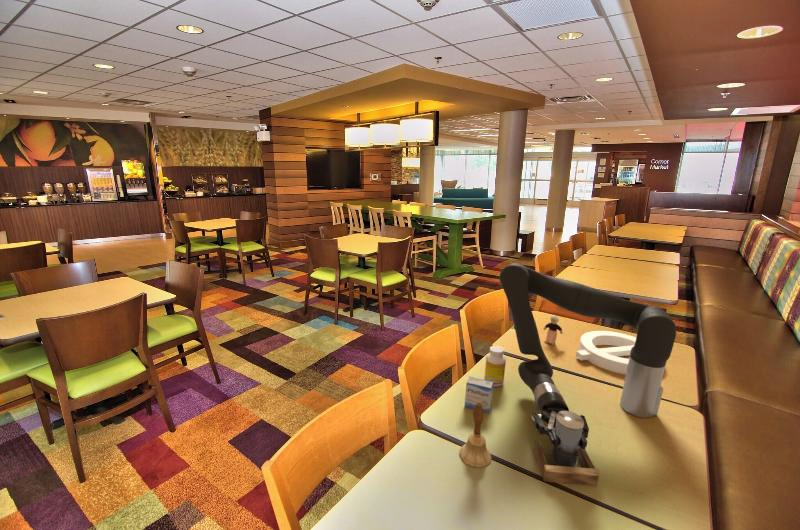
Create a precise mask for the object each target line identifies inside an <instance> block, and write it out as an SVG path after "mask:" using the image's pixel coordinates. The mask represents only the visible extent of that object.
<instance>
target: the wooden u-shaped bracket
mask: <svg viewBox="0 0 800 530" xmlns="http://www.w3.org/2000/svg"><path fill="white" fill-rule="evenodd" d="M533 453H534V455H535V459H536V462H537V464H538V468H539V470H540V473H541V477H542V480H543V482H549V483H557V484H559V483H560V484H571V485H581V486H582V485H583V486H595V487H596V486H597V487H598V481H599V477H600V471H599V469H598V468H595V465H594V464H593V461H592V459H591V458H590V456H589V453H588V452H587V450H586V448H585V449H581V447H580V446H579V451H578V456H577V459H578V460H579V462H580V464H581V465H582V467H578V466H575V467H566V466H558V465H553V464H552V465H551V464H548V461H547V458H546V455H545V453H544V449H543V448H542V444H541V443H540V440H534V441H533Z"/></svg>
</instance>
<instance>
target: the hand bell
mask: <svg viewBox="0 0 800 530" xmlns="http://www.w3.org/2000/svg"><path fill="white" fill-rule="evenodd" d="M484 414H485V411H483V408H482V404H481V403H477V404H476V407H475V409H473V415H472V416H473V422H474V428H473V429H474V430H473V432H472V433H471V434H469V435H468V438H467V440H466V443H465V444H462V446H461V447H460V449H459V457H460V459H461V461H463V463H465V464H466V465H467V466H470V467H472V468H477V469H479V468H484V467H487V466H489V465H490V464H491V462H492V454H491V451H490V449H489V448H488V447H487V445H486V444H487V441H486V438H485V436H484V435H482V434H481V433H482V423H483V421H484V417H485V415H484Z"/></svg>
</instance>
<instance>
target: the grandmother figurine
mask: <svg viewBox="0 0 800 530" xmlns="http://www.w3.org/2000/svg"><path fill="white" fill-rule="evenodd" d="M559 321H560V320H559V318H558V316H557V315H552V316H550V322H548V323H547V324H546V325H545V326H544V327H543V331H546V330H547V329H548V330H547V333H546V340H544V341H543V343H545V344H550V345H551V346H556V341H557V335H558V331H559V333H560V334H561V335H562V334H563V328H562V327H561V326H560V325H559V324H558V323H559Z"/></svg>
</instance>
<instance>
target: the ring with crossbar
mask: <svg viewBox="0 0 800 530" xmlns="http://www.w3.org/2000/svg"><path fill="white" fill-rule="evenodd" d="M636 337H637V336H633V335H629V334H625V333H621V332H618V331H617V332H616V331H609V330H593V331H587V332H585V333H583V334H582V335H580V342H579V347H578V350H576V351H575V358H577V359H579V360H580V361H581V362H582V361H588V362H590V363H591V364H593V365H594V366H597V367H599V368H602V369H604V370H607V371H610V372H612V373H616V374H620V375H625V376H626V372H627V367H628V362H629V358H626V357H625V356H630V352H631V349H632V347H633V346H634V345H635V341H636ZM602 345H603V346H604V345H605V346H611V347H601V348H598V347H596V346H602ZM624 357H625V358H624Z"/></svg>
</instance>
